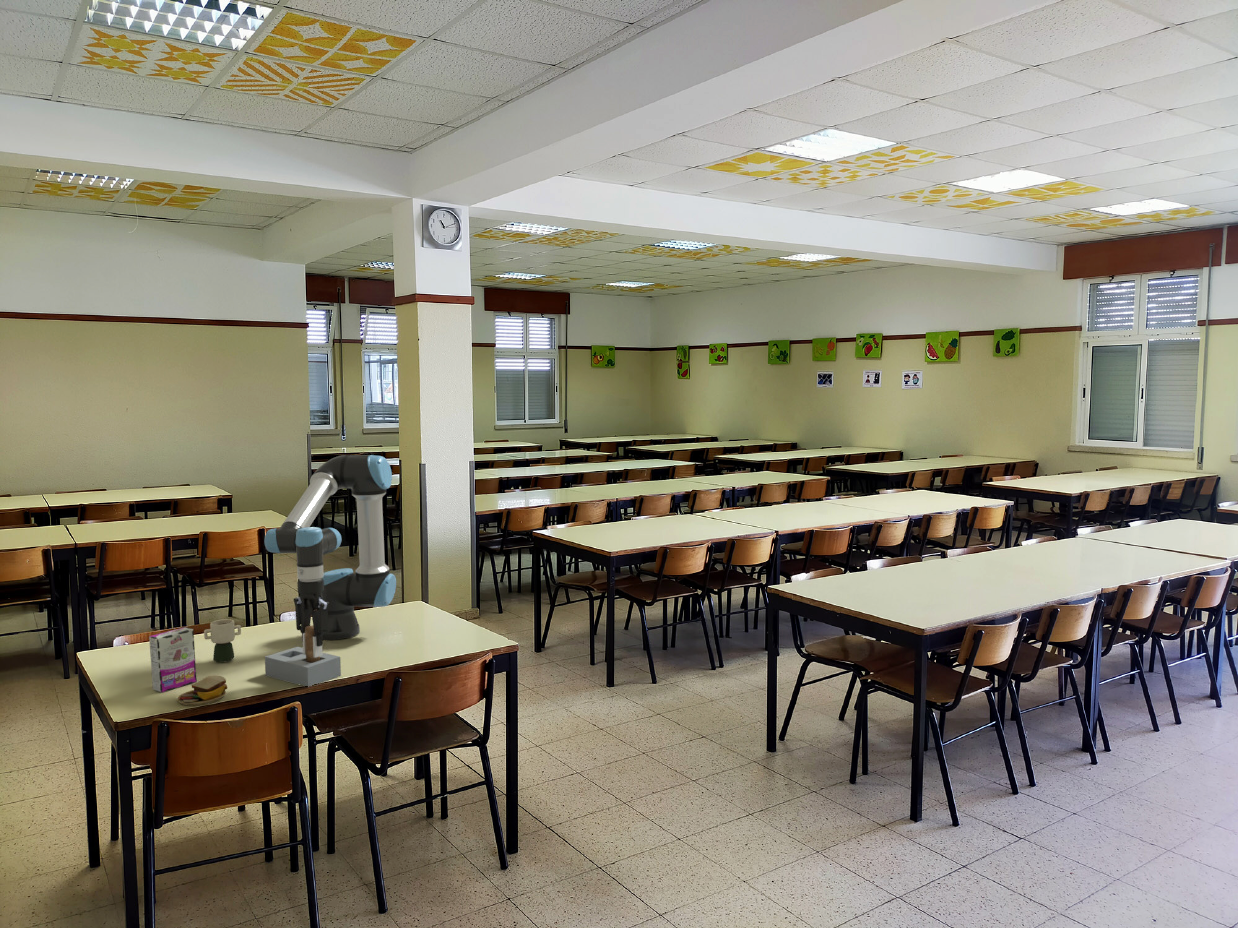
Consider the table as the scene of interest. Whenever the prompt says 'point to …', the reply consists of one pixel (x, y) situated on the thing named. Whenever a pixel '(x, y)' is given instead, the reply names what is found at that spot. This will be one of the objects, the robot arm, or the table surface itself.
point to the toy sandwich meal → (204, 691)
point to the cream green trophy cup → (222, 638)
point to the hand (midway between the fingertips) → (312, 654)
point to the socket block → (301, 667)
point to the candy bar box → (172, 659)
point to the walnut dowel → (310, 644)
